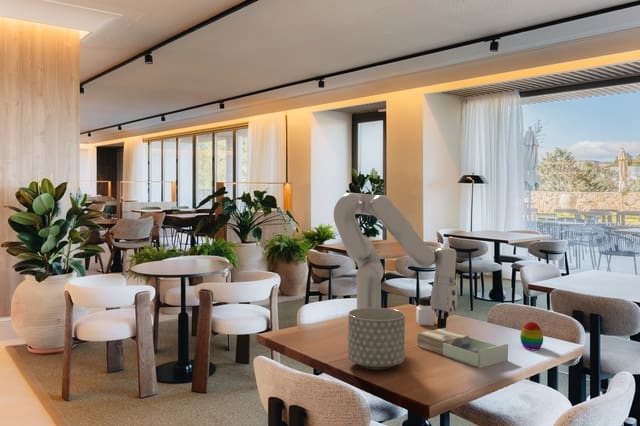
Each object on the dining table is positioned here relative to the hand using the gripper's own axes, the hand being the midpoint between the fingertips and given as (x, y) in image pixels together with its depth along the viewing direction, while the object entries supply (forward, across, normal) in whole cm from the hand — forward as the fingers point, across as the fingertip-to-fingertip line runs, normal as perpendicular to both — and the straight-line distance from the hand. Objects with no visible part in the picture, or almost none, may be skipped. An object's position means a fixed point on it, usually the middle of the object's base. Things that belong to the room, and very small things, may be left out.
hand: (441, 327), depth 197 cm
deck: (+8, 0, -1) cm, 8 cm away
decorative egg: (+6, -18, -30) cm, 36 cm away
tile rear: (+3, -9, -1) cm, 9 cm away
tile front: (+4, -14, 0) cm, 15 cm away
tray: (+7, -15, -1) cm, 17 cm away
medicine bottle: (+8, +30, -22) cm, 38 cm away
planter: (+9, -4, +35) cm, 36 cm away
